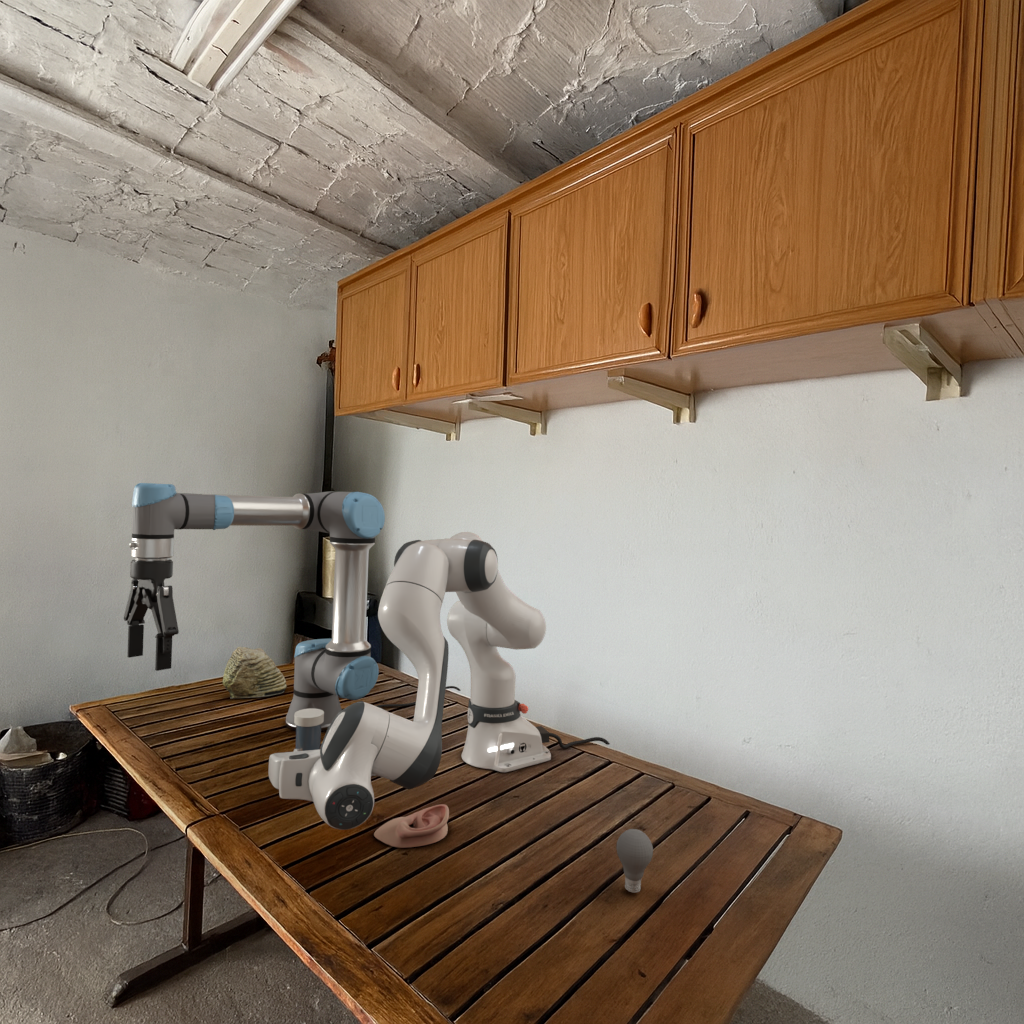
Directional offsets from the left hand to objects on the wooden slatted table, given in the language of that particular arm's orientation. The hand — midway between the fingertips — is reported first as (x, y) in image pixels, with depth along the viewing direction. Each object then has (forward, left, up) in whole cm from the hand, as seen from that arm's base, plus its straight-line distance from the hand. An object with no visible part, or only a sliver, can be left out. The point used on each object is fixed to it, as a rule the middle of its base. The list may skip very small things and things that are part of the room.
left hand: (148, 662), depth 129 cm
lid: (-26, +18, -12) cm, 34 cm away
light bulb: (-41, +90, -28) cm, 103 cm away
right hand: (-17, +36, -13) cm, 42 cm away
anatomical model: (-28, +50, -28) cm, 64 cm away
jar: (-26, +18, -28) cm, 42 cm away
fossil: (-50, -47, -28) cm, 74 cm away
